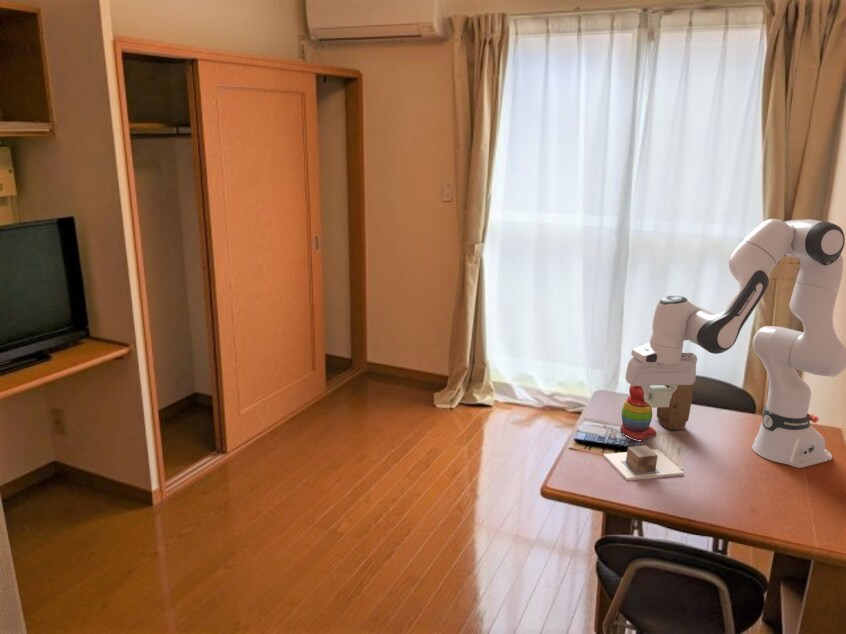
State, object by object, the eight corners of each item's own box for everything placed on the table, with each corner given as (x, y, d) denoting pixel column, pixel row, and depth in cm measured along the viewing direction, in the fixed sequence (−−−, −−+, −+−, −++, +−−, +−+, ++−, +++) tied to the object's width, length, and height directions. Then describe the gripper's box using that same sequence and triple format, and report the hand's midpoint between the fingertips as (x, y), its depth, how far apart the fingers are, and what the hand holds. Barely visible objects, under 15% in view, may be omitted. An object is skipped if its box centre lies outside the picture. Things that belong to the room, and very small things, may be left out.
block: (689, 430, 218) (698, 373, 213) (668, 432, 217) (676, 374, 211) (671, 416, 229) (679, 362, 223) (651, 417, 227) (659, 362, 221)
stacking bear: (639, 443, 209) (646, 390, 204) (612, 431, 216) (618, 380, 211) (658, 434, 215) (665, 383, 210) (631, 422, 223) (638, 373, 218)
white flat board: (657, 451, 204) (657, 449, 203) (683, 475, 191) (684, 472, 190) (603, 456, 200) (603, 453, 200) (626, 480, 187) (626, 477, 186)
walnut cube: (644, 460, 196) (646, 445, 195) (655, 471, 191) (657, 455, 189) (625, 462, 195) (627, 447, 193) (636, 472, 189) (638, 457, 188)
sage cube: (659, 400, 194) (662, 384, 193) (669, 407, 189) (671, 390, 188) (644, 400, 193) (646, 384, 192) (653, 407, 188) (655, 391, 187)
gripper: (691, 349, 192) (683, 393, 196) (626, 349, 188) (619, 395, 192) (704, 356, 186) (696, 402, 190) (637, 356, 182) (630, 403, 186)
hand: (657, 398), depth 191 cm, fingers closed on sage cube, 5 cm apart
